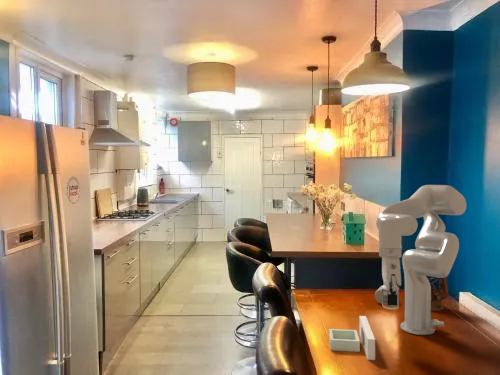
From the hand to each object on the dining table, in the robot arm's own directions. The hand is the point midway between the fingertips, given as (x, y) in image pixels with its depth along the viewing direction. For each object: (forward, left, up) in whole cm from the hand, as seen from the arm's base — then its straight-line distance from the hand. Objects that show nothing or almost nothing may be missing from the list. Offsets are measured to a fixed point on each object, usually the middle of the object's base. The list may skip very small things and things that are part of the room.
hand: (390, 301), depth 146 cm
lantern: (-26, -47, -17) cm, 56 cm away
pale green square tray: (+16, 0, -16) cm, 23 cm away
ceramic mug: (-8, -50, -17) cm, 53 cm away
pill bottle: (0, 0, -2) cm, 2 cm away
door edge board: (+8, 0, -16) cm, 18 cm away
